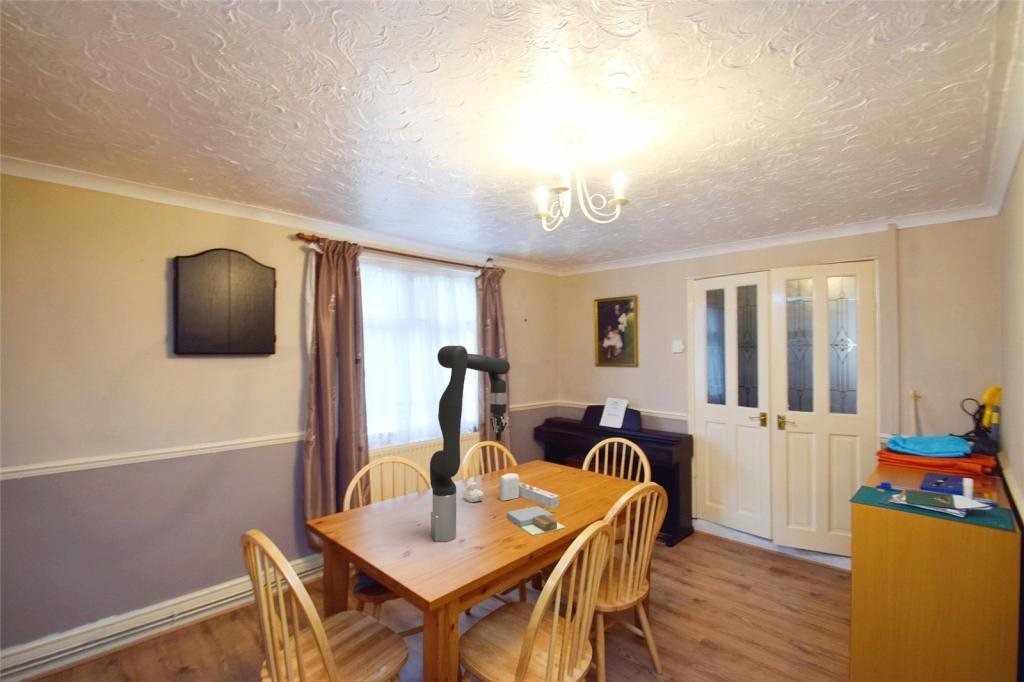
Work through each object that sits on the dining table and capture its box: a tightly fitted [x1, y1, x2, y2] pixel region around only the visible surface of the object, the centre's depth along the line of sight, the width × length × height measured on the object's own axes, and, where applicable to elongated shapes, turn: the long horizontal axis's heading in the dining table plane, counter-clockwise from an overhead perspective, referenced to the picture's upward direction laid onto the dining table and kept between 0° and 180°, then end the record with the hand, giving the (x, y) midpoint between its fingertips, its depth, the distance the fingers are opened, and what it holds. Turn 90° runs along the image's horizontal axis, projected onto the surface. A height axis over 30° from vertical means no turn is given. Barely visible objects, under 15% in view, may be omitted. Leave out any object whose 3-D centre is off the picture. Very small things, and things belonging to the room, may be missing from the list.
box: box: [519, 482, 560, 510], centre depth 216 cm, size 27×5×6 cm, turn 40°
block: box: [533, 515, 558, 533], centre depth 181 cm, size 6×9×3 cm, turn 30°
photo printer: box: [499, 472, 520, 502], centre depth 218 cm, size 10×4×12 cm, turn 123°
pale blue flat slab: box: [506, 505, 554, 528], centre depth 191 cm, size 16×12×2 cm
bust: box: [462, 480, 485, 503], centre depth 214 cm, size 12×8×11 cm
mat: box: [520, 521, 566, 536], centre depth 181 cm, size 16×9×1 cm, turn 119°
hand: (498, 440), depth 201 cm, fingers closed
